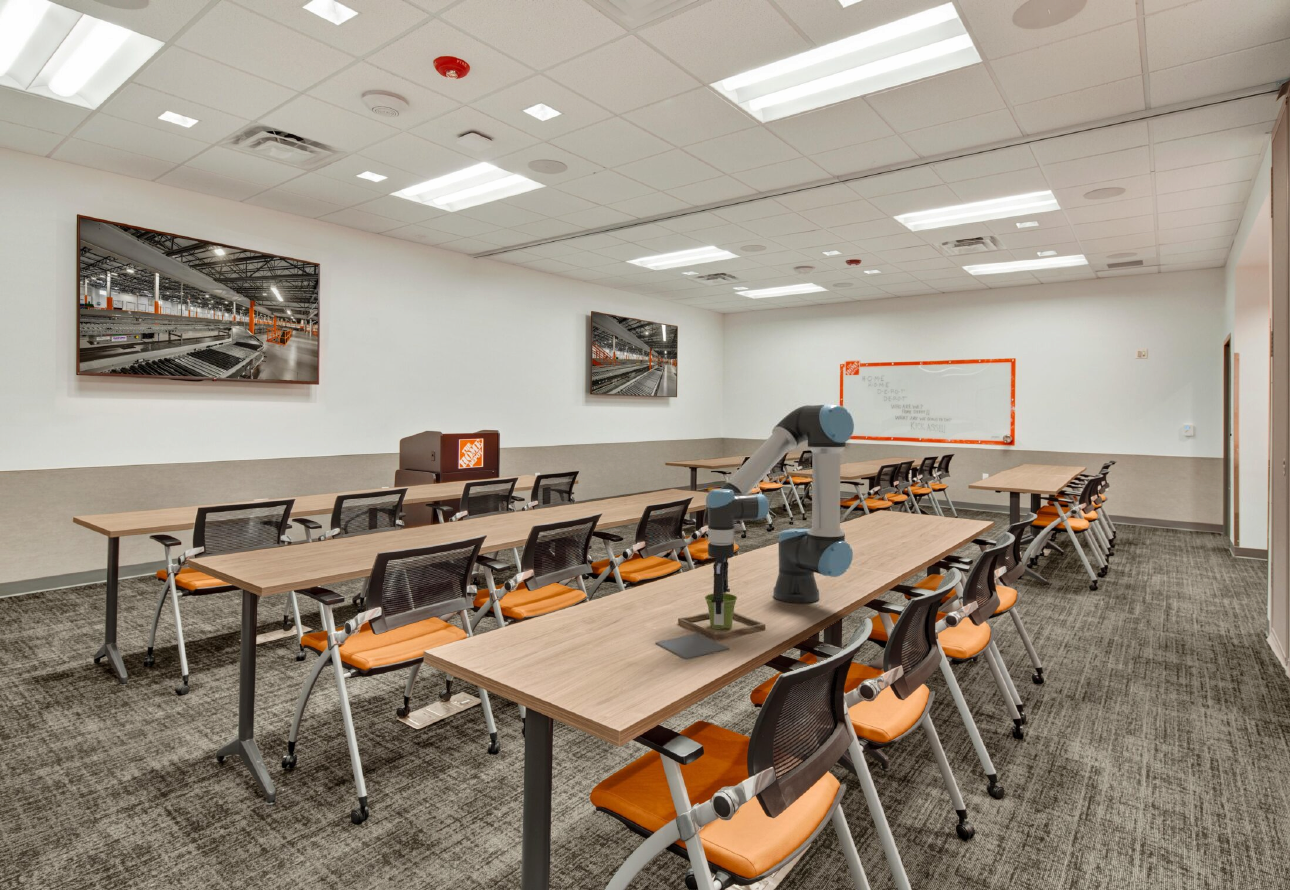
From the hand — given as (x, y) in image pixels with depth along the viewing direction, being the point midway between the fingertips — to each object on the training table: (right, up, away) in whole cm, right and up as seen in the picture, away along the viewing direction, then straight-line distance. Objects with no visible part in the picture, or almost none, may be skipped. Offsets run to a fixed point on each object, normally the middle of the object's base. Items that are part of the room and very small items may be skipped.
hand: (720, 619), depth 190 cm
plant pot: (0, -2, 0) cm, 2 cm away
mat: (-10, -3, -17) cm, 19 cm away
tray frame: (0, -2, 0) cm, 2 cm away
